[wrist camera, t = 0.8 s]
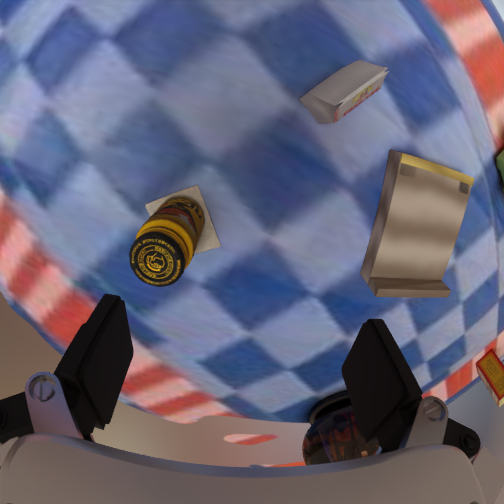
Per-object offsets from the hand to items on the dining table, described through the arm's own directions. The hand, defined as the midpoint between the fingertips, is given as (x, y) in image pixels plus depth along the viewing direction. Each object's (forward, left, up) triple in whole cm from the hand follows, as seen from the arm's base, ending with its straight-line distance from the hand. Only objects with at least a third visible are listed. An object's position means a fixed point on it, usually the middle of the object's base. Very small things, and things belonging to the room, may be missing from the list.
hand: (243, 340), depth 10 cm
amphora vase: (+46, +27, -25) cm, 59 cm away
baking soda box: (+38, +75, -25) cm, 88 cm away
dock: (+1, +25, -25) cm, 35 cm away
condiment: (+5, -7, -25) cm, 27 cm away
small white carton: (-13, +9, -25) cm, 29 cm away
